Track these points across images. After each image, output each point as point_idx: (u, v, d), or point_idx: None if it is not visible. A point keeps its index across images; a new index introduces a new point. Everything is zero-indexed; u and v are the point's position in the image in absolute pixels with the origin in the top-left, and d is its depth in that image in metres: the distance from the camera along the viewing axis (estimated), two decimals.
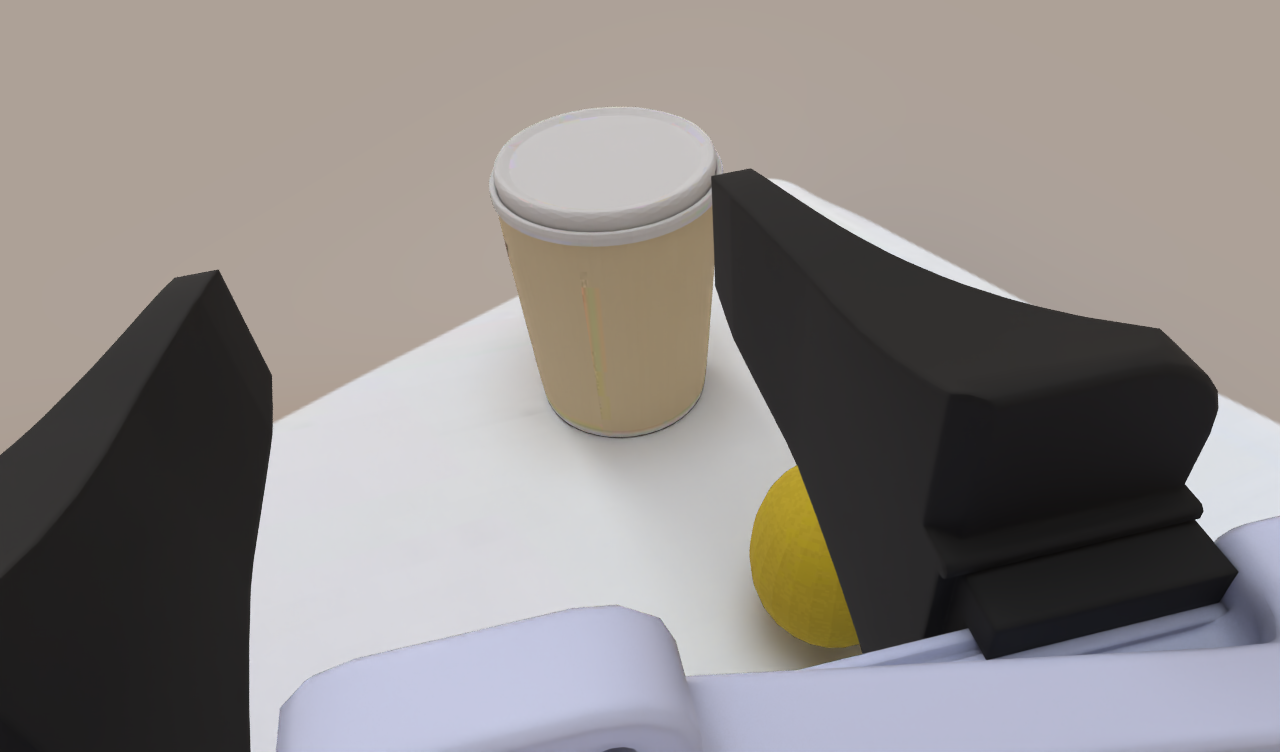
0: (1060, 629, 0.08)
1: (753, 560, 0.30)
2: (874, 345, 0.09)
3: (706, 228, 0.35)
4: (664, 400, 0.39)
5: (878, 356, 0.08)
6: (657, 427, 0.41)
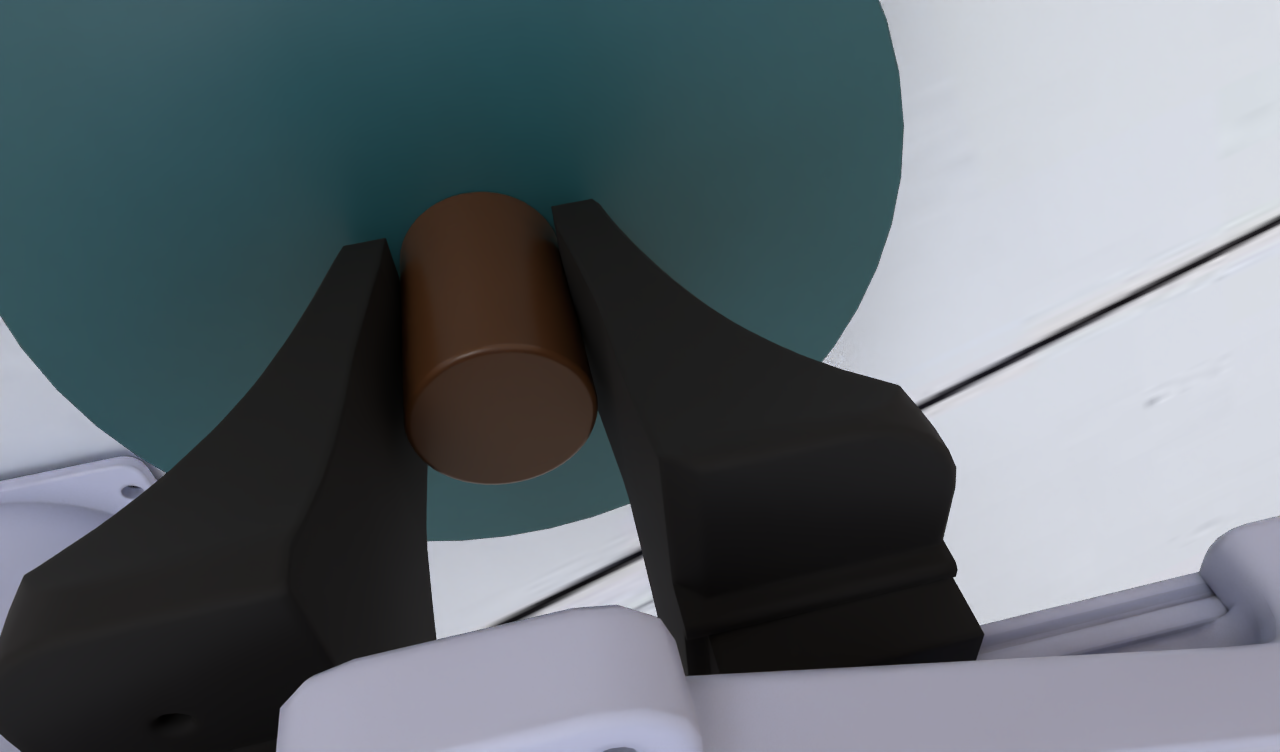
0: None
1: None
2: (632, 397, 0.08)
3: None
4: None
5: (634, 409, 0.08)
6: None
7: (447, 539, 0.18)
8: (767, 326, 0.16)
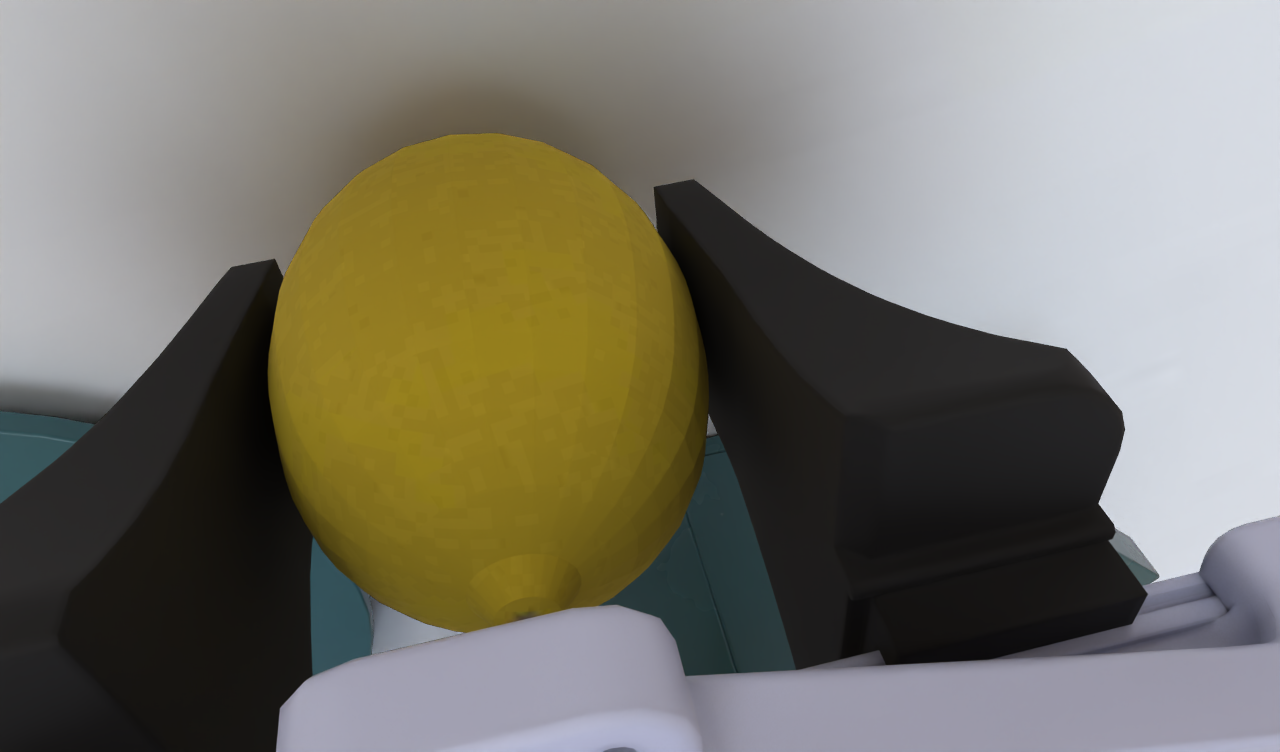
0: (968, 652, 0.08)
1: None
2: (788, 364, 0.08)
3: None
4: None
5: (791, 376, 0.08)
6: None
7: None
8: None
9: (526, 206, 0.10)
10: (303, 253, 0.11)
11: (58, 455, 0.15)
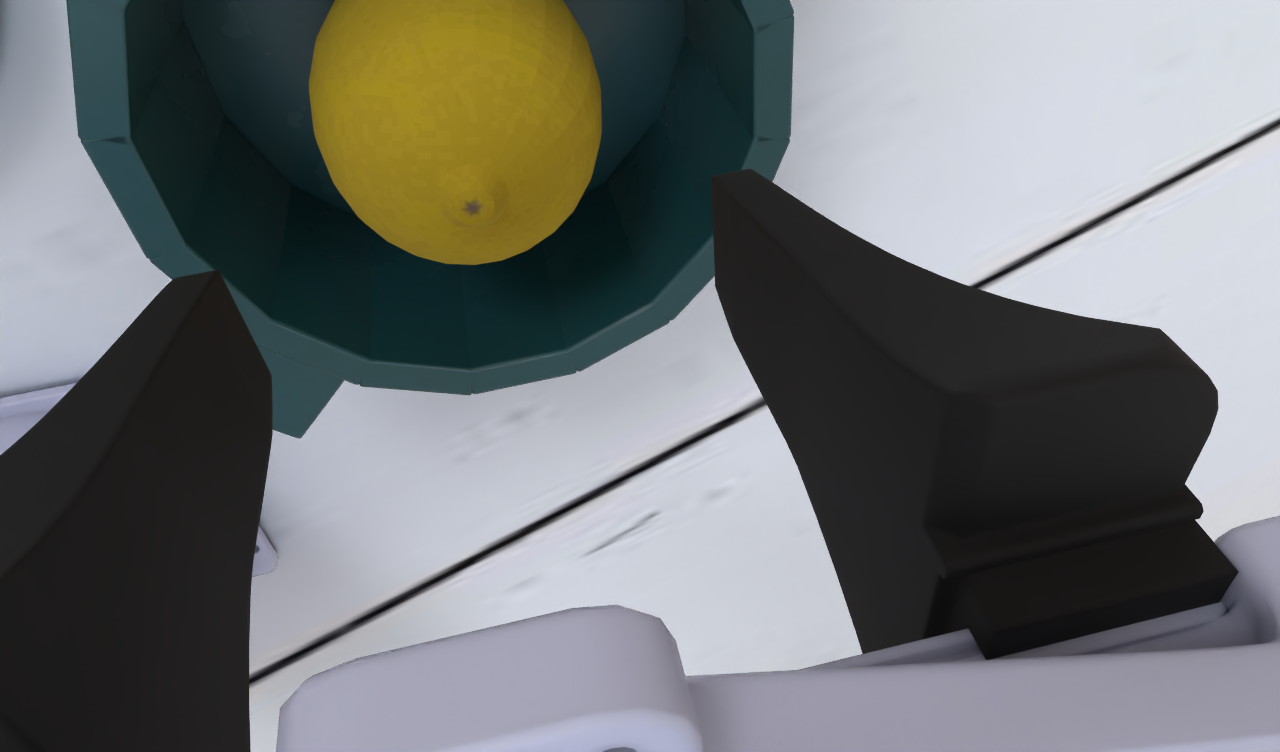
0: (1060, 629, 0.08)
1: None
2: (874, 345, 0.09)
3: None
4: None
5: (878, 356, 0.08)
6: None
7: None
8: None
9: None
10: (332, 7, 0.16)
11: None
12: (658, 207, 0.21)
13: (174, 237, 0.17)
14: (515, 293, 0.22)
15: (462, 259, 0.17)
